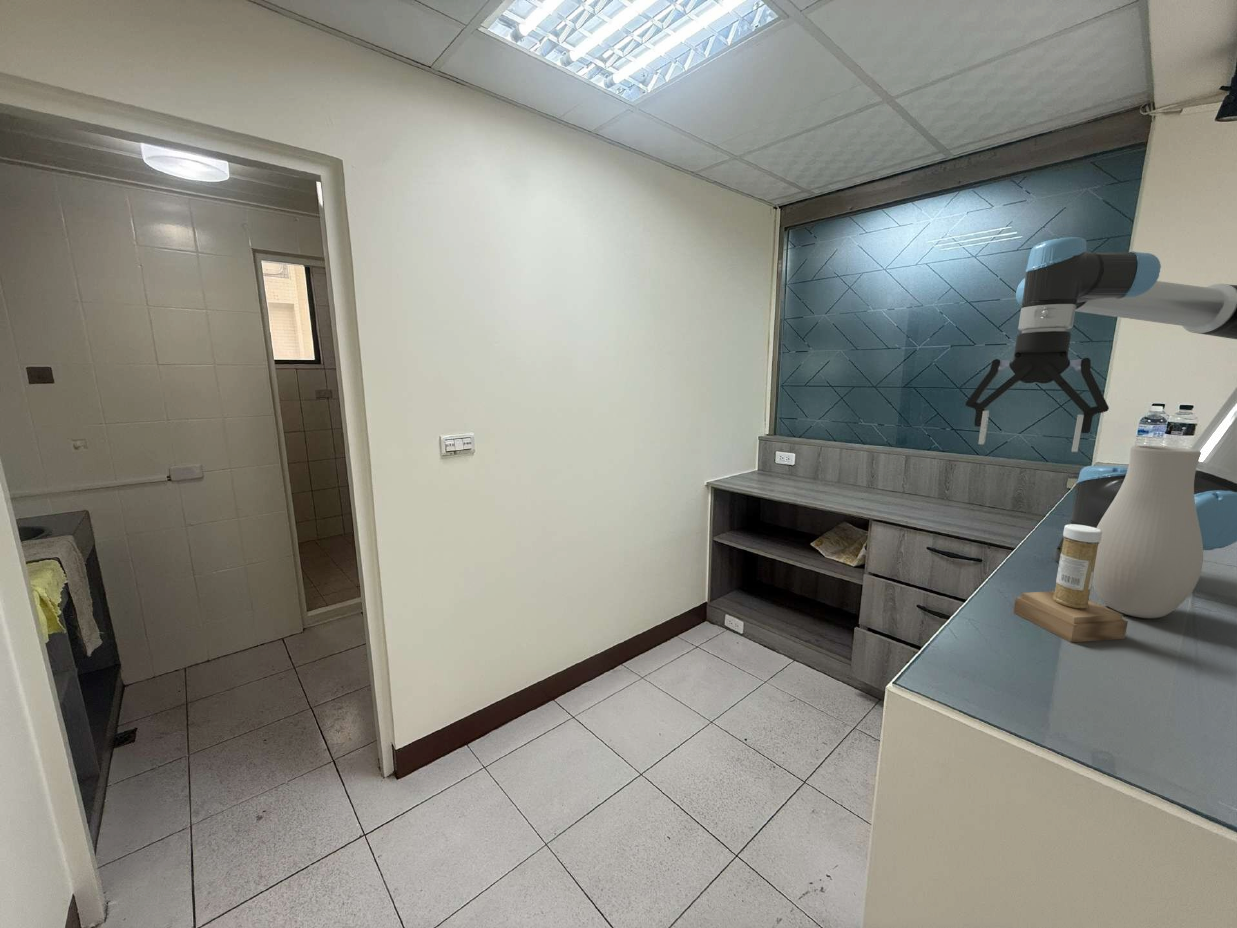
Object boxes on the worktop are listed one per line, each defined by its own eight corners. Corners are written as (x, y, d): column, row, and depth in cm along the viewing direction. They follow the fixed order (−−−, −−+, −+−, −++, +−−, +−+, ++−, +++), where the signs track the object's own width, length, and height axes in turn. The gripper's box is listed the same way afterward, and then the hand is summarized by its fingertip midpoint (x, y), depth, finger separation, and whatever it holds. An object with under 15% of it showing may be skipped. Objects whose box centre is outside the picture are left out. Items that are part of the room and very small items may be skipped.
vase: (1188, 613, 88) (1226, 449, 83) (1188, 639, 79) (1231, 457, 74) (1084, 588, 98) (1112, 440, 93) (1074, 609, 89) (1104, 447, 84)
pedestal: (1061, 609, 89) (1065, 589, 88) (1124, 638, 79) (1129, 615, 79) (1013, 612, 88) (1016, 591, 87) (1070, 642, 78) (1075, 619, 77)
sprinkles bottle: (1095, 608, 81) (1110, 530, 79) (1074, 610, 80) (1088, 532, 78) (1065, 596, 85) (1078, 522, 83) (1044, 598, 84) (1057, 524, 82)
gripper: (958, 333, 94) (944, 442, 98) (1146, 325, 78) (1120, 457, 81) (964, 336, 100) (951, 439, 103) (1141, 329, 83) (1117, 452, 87)
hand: (1025, 447), depth 92 cm, fingers open, 13 cm apart
